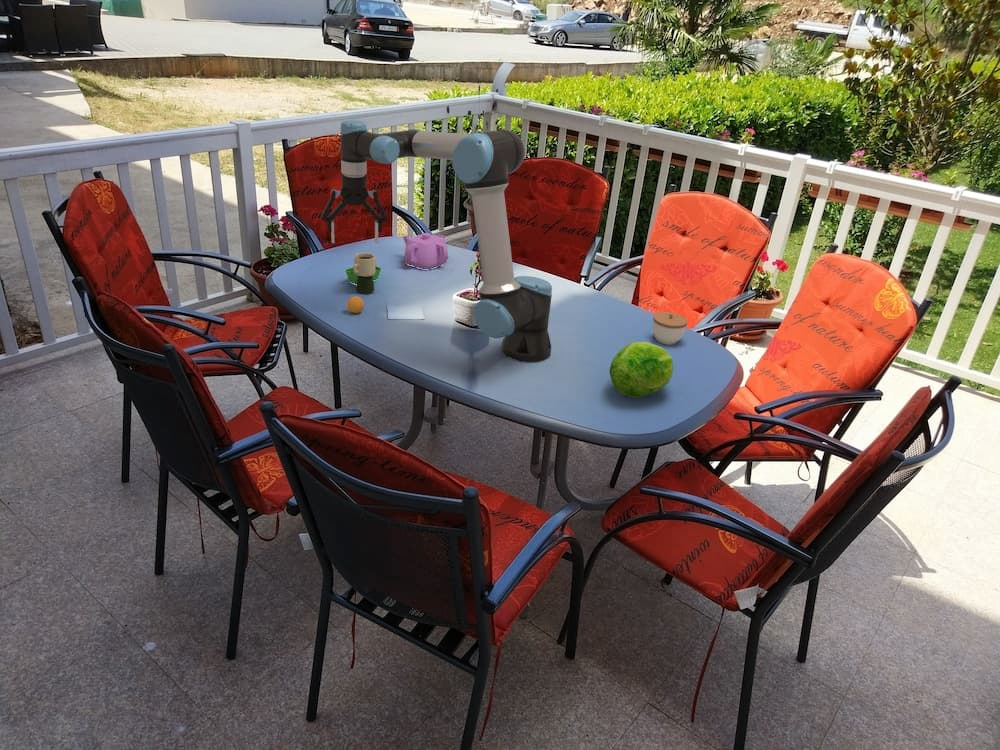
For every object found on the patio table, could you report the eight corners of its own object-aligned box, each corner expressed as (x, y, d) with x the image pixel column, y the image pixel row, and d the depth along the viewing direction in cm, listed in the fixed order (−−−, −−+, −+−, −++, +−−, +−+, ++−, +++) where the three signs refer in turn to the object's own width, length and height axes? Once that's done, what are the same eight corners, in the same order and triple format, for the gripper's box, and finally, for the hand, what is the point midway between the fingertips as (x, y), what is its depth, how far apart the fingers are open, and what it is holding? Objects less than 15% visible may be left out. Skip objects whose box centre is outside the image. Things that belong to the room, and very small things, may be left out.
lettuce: (630, 364, 209) (676, 389, 202) (590, 390, 193) (639, 418, 186) (644, 321, 201) (693, 345, 194) (603, 345, 185) (655, 373, 178)
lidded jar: (661, 330, 236) (666, 304, 231) (689, 342, 229) (695, 315, 225) (643, 338, 229) (647, 312, 224) (670, 350, 222) (676, 323, 218)
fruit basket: (367, 275, 262) (366, 246, 256) (384, 282, 257) (384, 252, 252) (344, 283, 253) (343, 253, 248) (362, 290, 249) (361, 259, 244)
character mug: (368, 284, 254) (367, 250, 247) (383, 289, 250) (383, 254, 244) (347, 293, 245) (345, 257, 239) (362, 298, 242) (361, 262, 236)
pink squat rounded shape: (406, 271, 268) (407, 240, 263) (402, 257, 283) (402, 227, 277) (450, 271, 272) (452, 240, 266) (444, 257, 287) (445, 227, 281)
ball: (366, 314, 231) (366, 298, 228) (350, 316, 228) (350, 301, 225) (360, 308, 235) (360, 292, 232) (344, 310, 232) (344, 295, 229)
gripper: (393, 172, 220) (392, 238, 231) (311, 170, 214) (314, 237, 224) (396, 178, 214) (395, 245, 224) (311, 176, 208) (314, 245, 218)
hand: (355, 242), depth 224 cm, fingers open, 13 cm apart
